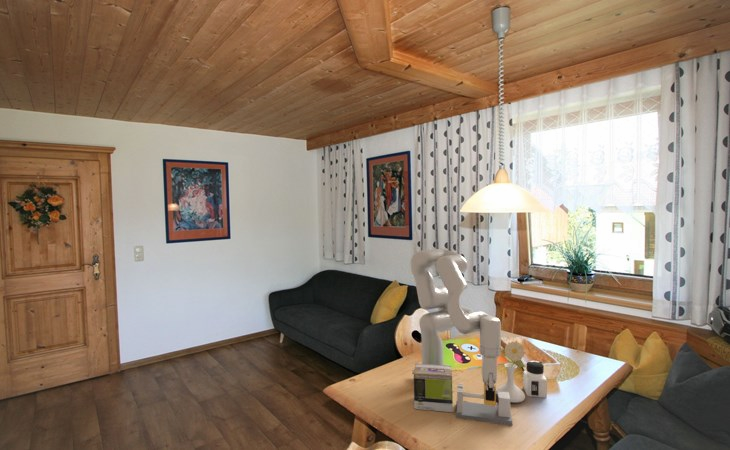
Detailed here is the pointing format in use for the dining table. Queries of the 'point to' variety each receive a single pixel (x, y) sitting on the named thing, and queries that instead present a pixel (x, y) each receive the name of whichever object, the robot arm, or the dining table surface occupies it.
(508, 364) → the flower in vase
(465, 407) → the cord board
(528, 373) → the container
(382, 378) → the dining table surface
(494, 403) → the sleeve
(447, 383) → the tea box
